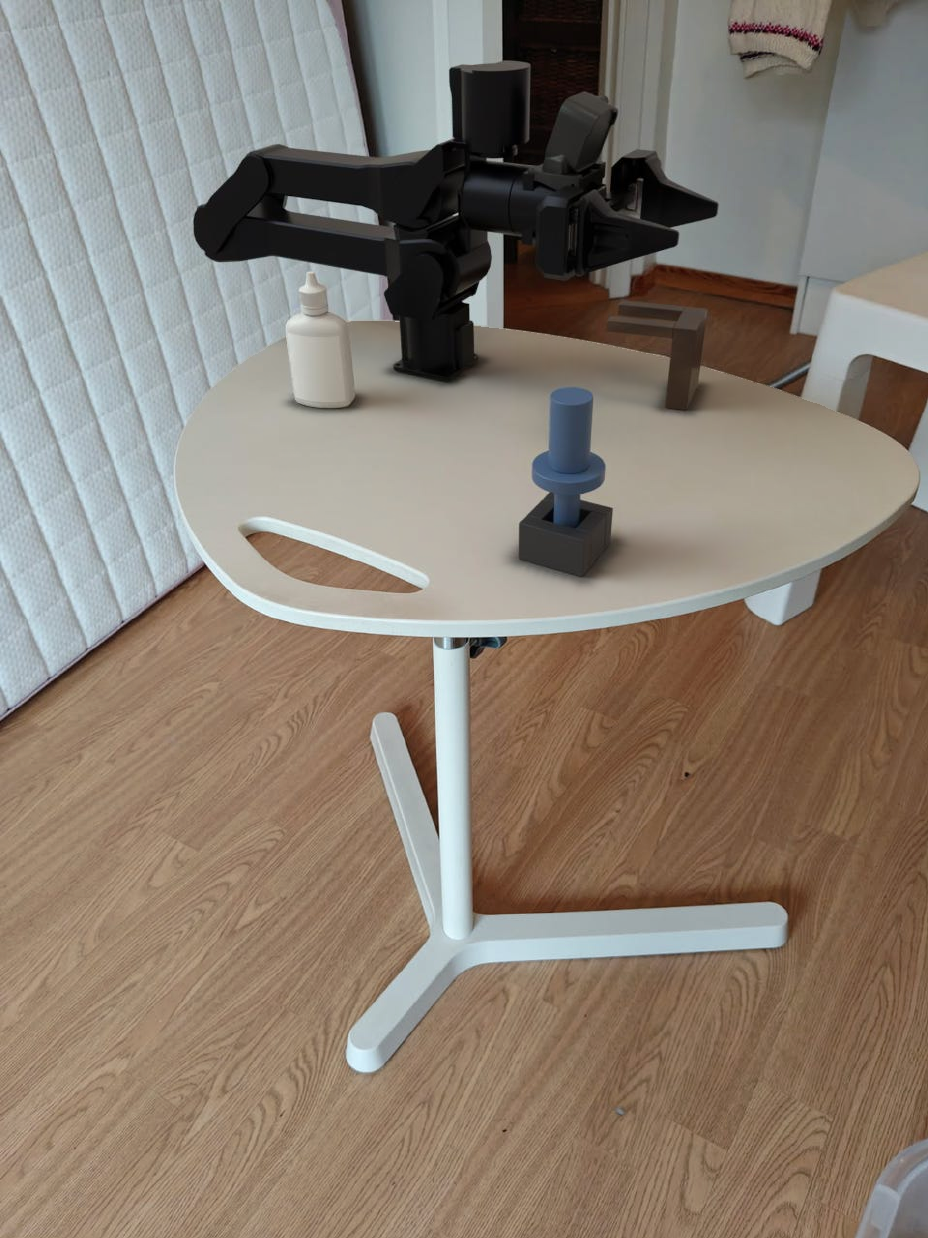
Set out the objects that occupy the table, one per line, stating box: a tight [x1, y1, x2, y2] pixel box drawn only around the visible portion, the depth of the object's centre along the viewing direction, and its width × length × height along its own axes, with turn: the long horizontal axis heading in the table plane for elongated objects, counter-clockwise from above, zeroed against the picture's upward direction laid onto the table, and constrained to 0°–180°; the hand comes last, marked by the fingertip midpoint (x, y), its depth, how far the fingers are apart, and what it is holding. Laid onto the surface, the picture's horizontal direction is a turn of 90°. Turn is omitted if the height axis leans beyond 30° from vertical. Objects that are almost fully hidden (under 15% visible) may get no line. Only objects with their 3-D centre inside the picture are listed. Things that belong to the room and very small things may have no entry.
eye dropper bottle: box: [285, 270, 356, 409], centre depth 89 cm, size 4×6×12 cm
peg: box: [531, 386, 607, 529], centre depth 67 cm, size 5×5×12 cm
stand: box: [605, 300, 708, 411], centre depth 90 cm, size 8×6×8 cm
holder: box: [518, 492, 614, 578], centre depth 70 cm, size 5×5×3 cm
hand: (698, 223), depth 78 cm, fingers open, 9 cm apart
